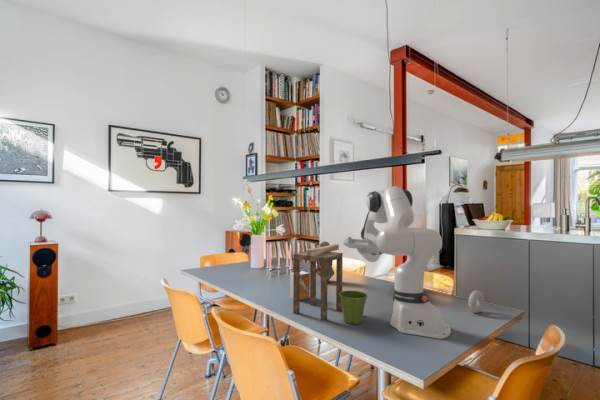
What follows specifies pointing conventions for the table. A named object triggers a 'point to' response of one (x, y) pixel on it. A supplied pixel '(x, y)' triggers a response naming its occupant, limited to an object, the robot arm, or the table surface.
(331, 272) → the clay figurine
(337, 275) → the stool
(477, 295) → the donut
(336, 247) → the slat
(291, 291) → the small box
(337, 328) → the table surface
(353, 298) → the plant pot
